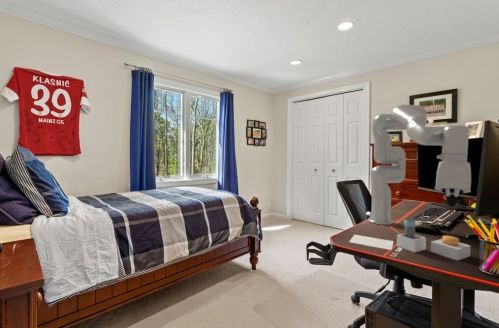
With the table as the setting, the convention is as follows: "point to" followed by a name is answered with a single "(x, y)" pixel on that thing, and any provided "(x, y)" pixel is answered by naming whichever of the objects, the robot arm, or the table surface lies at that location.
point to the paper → (372, 242)
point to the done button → (450, 240)
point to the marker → (409, 228)
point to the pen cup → (411, 243)
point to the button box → (450, 250)
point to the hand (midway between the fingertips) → (451, 206)
